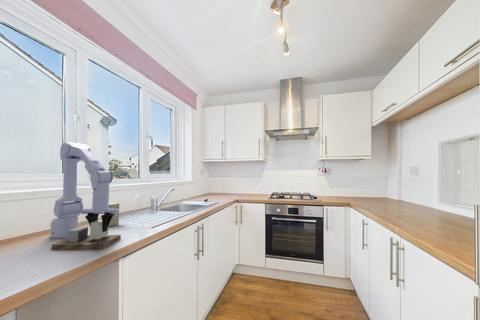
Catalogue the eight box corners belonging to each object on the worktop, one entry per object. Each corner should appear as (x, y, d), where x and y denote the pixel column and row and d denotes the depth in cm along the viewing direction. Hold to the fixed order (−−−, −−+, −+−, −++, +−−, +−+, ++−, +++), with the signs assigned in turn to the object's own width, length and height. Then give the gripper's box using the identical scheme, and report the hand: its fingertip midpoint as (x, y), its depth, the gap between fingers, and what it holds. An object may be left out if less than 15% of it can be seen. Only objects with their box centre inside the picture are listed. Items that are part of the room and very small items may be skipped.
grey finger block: (67, 246, 83) (68, 230, 83) (78, 241, 89) (79, 226, 89) (77, 246, 83) (78, 230, 83) (88, 241, 89) (88, 226, 89)
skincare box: (110, 227, 112) (111, 204, 113) (103, 226, 113) (104, 204, 114) (119, 224, 118) (119, 202, 119) (112, 223, 119) (113, 202, 120)
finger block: (89, 239, 83) (89, 222, 83) (98, 234, 89) (99, 219, 89) (99, 239, 83) (99, 222, 84) (108, 234, 89) (108, 219, 90)
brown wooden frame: (51, 249, 80) (51, 244, 80) (75, 239, 92) (75, 234, 92) (103, 249, 80) (104, 244, 80) (120, 239, 92) (120, 234, 92)
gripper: (76, 199, 83) (74, 234, 82) (112, 200, 83) (111, 234, 83) (88, 197, 90) (86, 229, 89) (122, 197, 90) (120, 229, 90)
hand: (99, 231), depth 86 cm, fingers closed on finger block, 4 cm apart
